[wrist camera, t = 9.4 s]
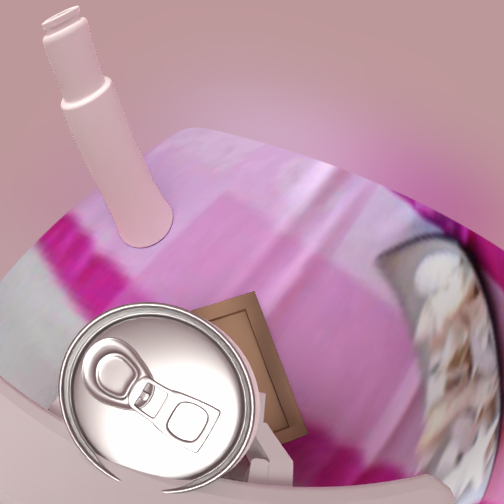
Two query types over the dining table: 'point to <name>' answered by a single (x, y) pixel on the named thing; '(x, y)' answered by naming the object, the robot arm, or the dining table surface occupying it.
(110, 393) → the can
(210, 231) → the dining table surface
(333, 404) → the dining table surface
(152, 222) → the pink bottle
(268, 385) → the pedestal
